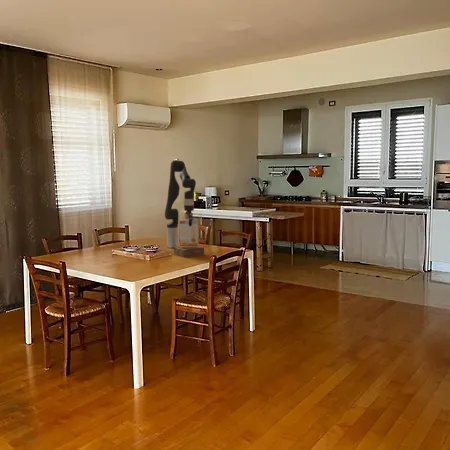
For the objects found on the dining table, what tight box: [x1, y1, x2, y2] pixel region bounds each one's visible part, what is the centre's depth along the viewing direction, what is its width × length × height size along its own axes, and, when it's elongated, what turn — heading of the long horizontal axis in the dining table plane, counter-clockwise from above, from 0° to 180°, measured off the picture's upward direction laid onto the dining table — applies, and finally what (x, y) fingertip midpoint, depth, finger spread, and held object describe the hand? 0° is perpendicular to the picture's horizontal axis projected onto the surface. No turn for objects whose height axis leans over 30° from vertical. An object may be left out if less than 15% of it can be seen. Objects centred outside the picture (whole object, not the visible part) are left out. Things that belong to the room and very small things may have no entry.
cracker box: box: [179, 218, 199, 247], centre depth 374 cm, size 14×6×21 cm, turn 84°
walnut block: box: [173, 245, 205, 258], centre depth 376 cm, size 14×19×6 cm
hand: (189, 225), depth 374 cm, fingers closed on cracker box, 7 cm apart
